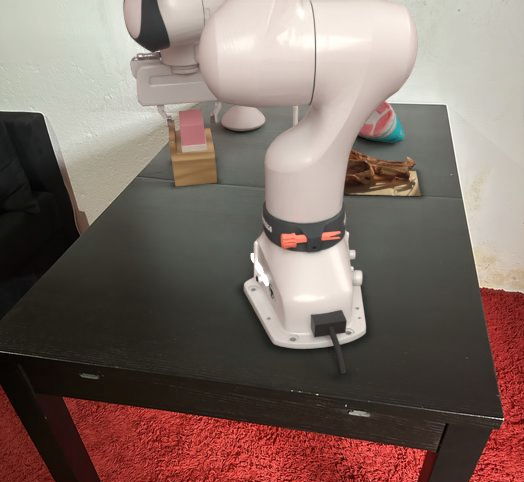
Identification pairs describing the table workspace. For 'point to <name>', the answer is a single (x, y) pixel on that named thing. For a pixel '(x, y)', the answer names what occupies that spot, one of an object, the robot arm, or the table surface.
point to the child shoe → (192, 131)
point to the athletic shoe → (383, 125)
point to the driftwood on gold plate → (380, 176)
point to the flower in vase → (243, 118)
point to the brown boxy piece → (192, 161)
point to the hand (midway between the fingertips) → (191, 124)
